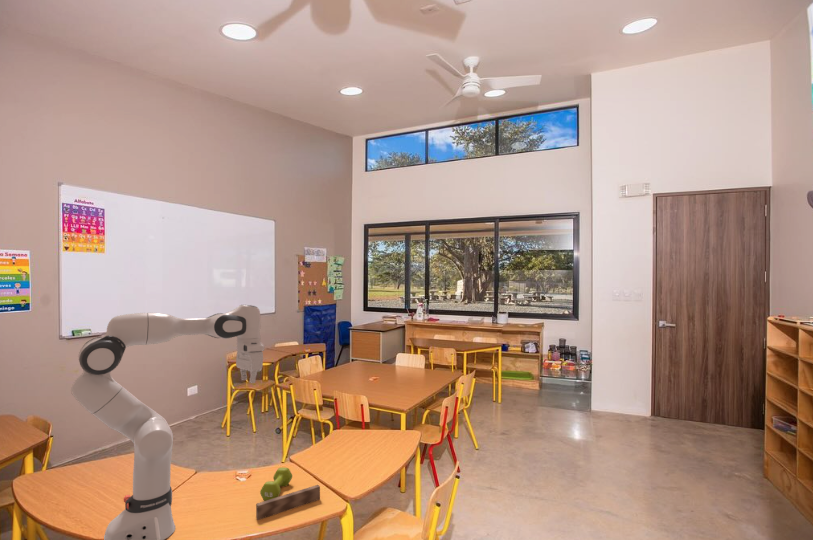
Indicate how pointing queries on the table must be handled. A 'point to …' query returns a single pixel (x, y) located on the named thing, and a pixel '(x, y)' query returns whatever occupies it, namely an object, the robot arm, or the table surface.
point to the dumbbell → (276, 484)
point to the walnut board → (287, 502)
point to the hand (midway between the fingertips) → (248, 381)
